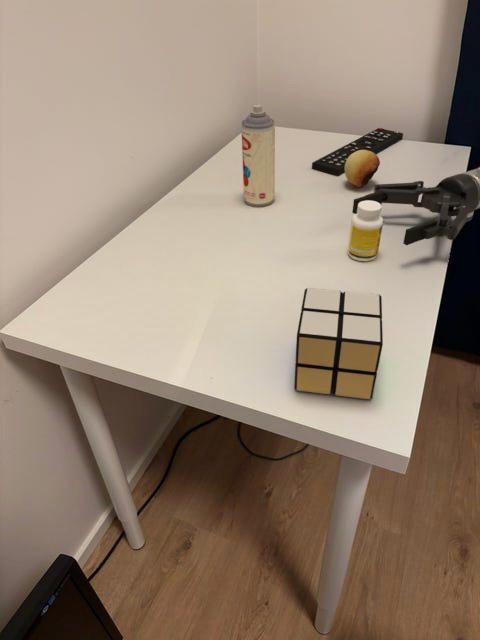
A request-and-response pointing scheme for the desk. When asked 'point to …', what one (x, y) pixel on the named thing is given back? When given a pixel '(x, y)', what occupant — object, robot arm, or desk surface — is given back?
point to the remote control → (369, 142)
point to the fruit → (361, 167)
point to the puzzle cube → (339, 343)
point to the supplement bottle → (365, 231)
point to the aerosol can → (258, 158)
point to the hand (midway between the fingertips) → (378, 221)
